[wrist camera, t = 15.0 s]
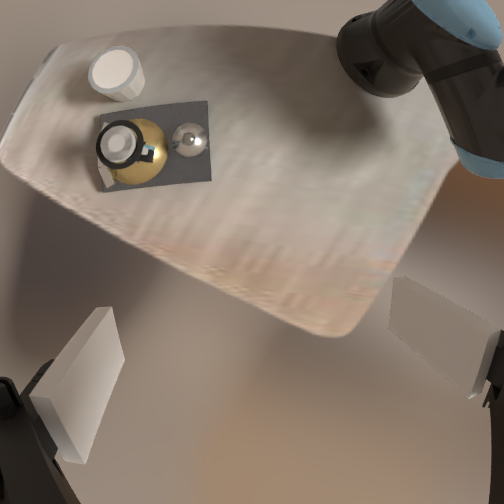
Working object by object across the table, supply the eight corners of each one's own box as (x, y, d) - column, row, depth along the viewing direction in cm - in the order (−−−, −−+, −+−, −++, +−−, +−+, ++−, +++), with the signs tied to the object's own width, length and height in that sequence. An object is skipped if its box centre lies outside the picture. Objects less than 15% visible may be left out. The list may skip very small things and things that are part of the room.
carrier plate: (207, 103, 39) (207, 95, 35) (211, 180, 41) (211, 180, 38) (102, 117, 37) (93, 111, 33) (106, 192, 40) (96, 193, 36)
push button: (107, 169, 37) (78, 165, 28) (114, 130, 36) (87, 116, 27) (153, 174, 38) (136, 171, 29) (160, 134, 37) (145, 120, 28)
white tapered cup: (154, 94, 38) (145, 79, 31) (110, 113, 37) (93, 102, 31) (142, 56, 36) (132, 36, 29) (99, 75, 36) (83, 59, 29)
